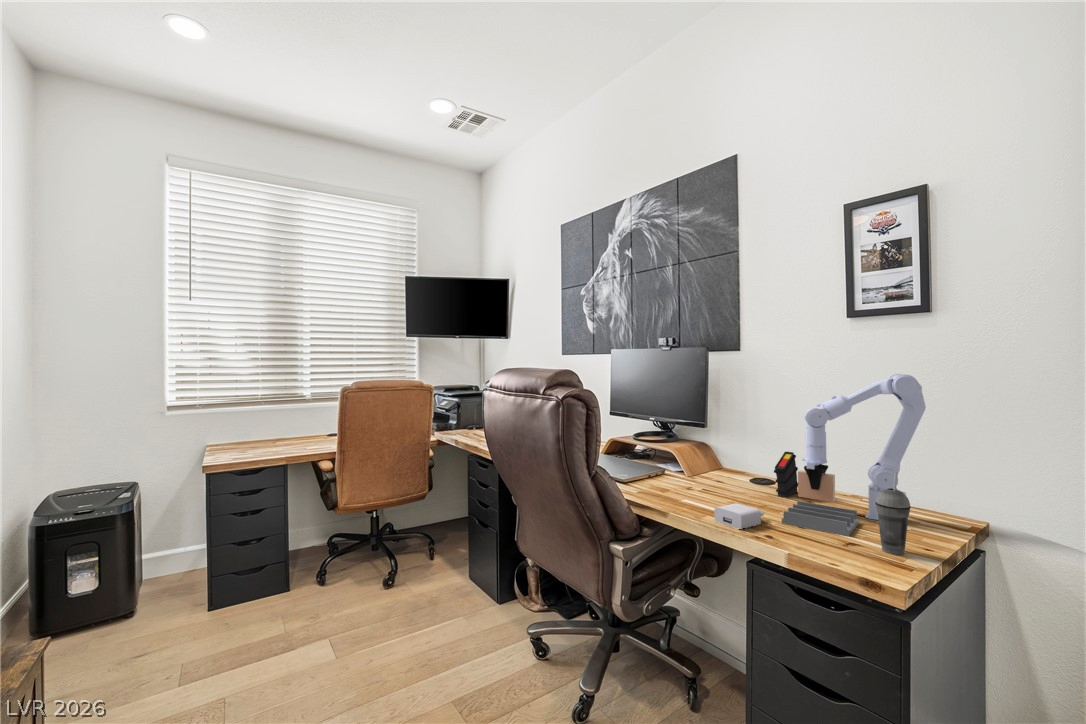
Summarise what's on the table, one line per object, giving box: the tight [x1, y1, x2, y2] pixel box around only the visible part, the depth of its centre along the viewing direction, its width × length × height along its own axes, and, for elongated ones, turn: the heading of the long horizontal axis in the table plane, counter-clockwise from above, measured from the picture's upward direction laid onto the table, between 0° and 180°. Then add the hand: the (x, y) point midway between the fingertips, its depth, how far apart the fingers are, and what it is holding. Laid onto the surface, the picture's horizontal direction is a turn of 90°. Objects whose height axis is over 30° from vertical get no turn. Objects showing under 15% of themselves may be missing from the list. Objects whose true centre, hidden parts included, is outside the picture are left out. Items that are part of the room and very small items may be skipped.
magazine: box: [773, 451, 799, 498], centre depth 178 cm, size 4×13×15 cm, turn 133°
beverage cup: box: [875, 472, 911, 556], centre depth 123 cm, size 7×7×20 cm
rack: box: [781, 500, 860, 537], centre depth 145 cm, size 17×15×4 cm
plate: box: [797, 470, 836, 503], centre depth 158 cm, size 10×3×8 cm, turn 48°
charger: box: [714, 503, 765, 530], centre depth 147 cm, size 5×9×15 cm
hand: (816, 488), depth 158 cm, fingers closed on plate, 3 cm apart
